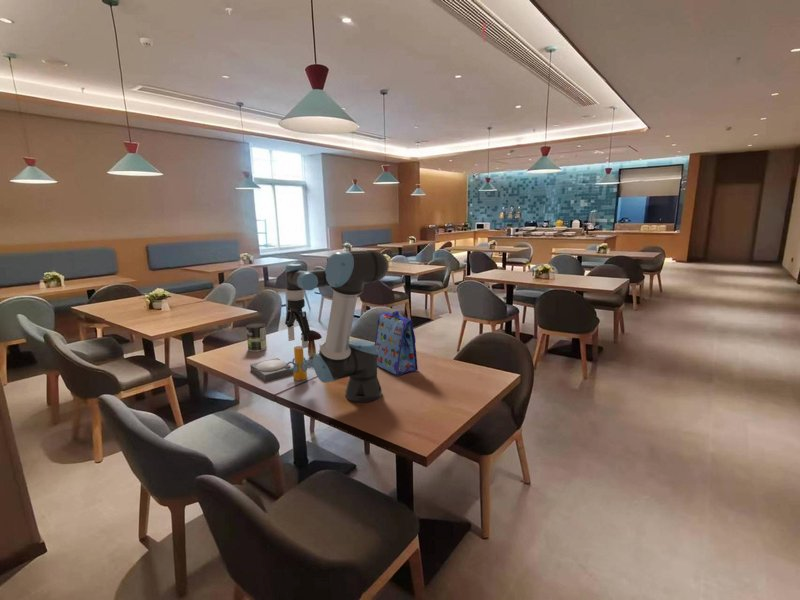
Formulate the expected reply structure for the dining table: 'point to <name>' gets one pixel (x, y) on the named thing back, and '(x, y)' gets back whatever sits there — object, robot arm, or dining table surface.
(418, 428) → the dining table surface
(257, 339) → the coffee can
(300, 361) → the yellow tube with rings
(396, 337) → the lunch bag
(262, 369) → the mount slab
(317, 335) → the decorative mushroom
